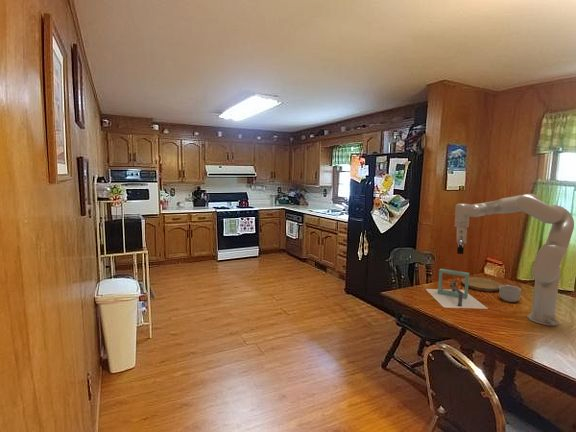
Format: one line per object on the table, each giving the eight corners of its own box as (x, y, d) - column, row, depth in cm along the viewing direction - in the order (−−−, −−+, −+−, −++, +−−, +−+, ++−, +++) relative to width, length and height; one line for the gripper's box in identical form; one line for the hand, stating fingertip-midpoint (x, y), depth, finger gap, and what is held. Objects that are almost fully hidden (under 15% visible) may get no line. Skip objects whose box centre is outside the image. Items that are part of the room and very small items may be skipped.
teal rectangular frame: (466, 299, 195) (468, 274, 193) (437, 293, 204) (439, 270, 202) (467, 296, 200) (469, 272, 198) (439, 291, 209) (440, 268, 207)
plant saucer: (455, 286, 223) (455, 281, 223) (468, 279, 239) (469, 274, 238) (495, 296, 205) (495, 291, 205) (507, 287, 221) (507, 282, 220)
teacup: (519, 305, 190) (520, 292, 189) (497, 301, 197) (498, 288, 196) (520, 298, 201) (521, 285, 200) (499, 294, 208) (500, 282, 207)
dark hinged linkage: (462, 306, 184) (463, 292, 183) (452, 305, 186) (453, 291, 185) (455, 291, 208) (456, 279, 207) (446, 291, 209) (447, 278, 208)
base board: (488, 311, 182) (488, 308, 181) (443, 309, 183) (443, 307, 183) (463, 292, 211) (463, 289, 211) (425, 291, 213) (425, 288, 213)
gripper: (469, 226, 187) (467, 255, 189) (468, 222, 202) (467, 249, 204) (454, 225, 190) (452, 254, 192) (454, 222, 205) (453, 248, 207)
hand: (460, 252), depth 198 cm, fingers open, 9 cm apart
